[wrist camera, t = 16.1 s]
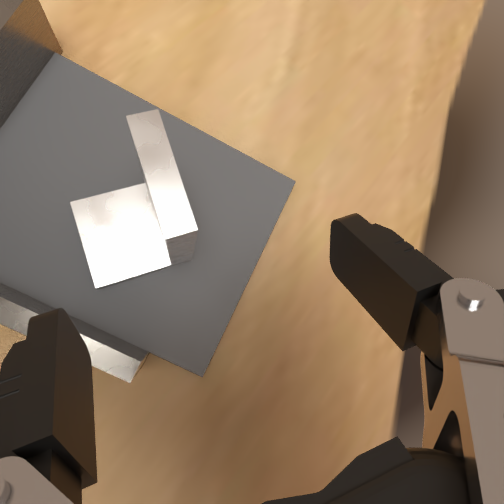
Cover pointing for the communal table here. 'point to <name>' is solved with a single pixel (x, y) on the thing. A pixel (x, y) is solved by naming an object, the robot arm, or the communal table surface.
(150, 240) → the aluminium bracket
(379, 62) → the communal table surface
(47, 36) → the corner walls
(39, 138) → the corner mat
